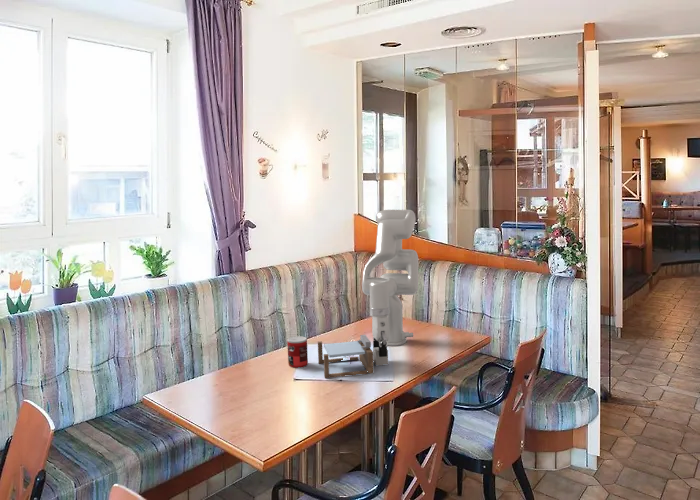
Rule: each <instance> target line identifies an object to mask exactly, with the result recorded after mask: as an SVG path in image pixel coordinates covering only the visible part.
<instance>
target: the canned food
mask: <svg viewBox="0 0 700 500" xmlns="http://www.w3.org/2000/svg"><path fill="white" fill-rule="evenodd" d="M286 342H287V362H288V366H289V367H291V368H295V369H298V367H300V368H305V367H306V366H307V365H308V363H309V361H308V359H309V358H308V339H307V337H305V336H302V335H300V336H299V335H298V336H290V337H288V338H287V341H286ZM304 366H305V367H304Z"/></svg>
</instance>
